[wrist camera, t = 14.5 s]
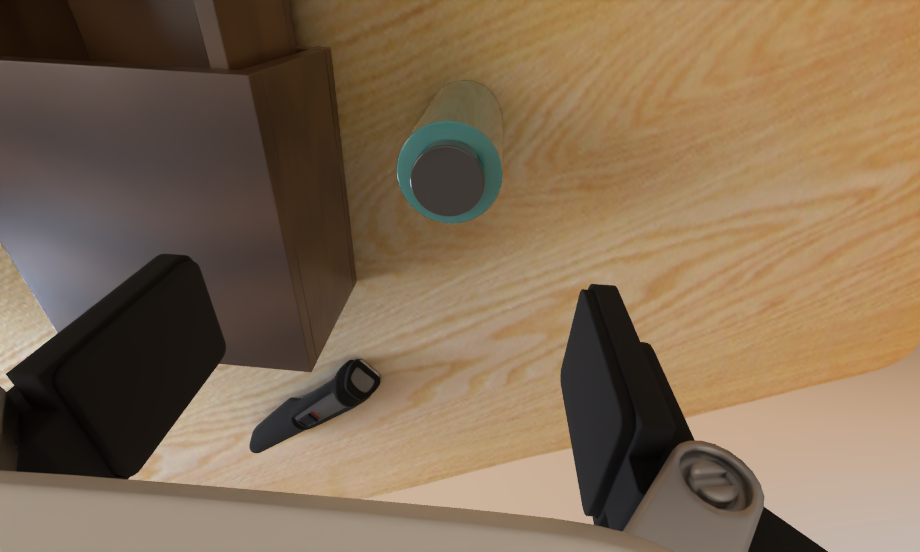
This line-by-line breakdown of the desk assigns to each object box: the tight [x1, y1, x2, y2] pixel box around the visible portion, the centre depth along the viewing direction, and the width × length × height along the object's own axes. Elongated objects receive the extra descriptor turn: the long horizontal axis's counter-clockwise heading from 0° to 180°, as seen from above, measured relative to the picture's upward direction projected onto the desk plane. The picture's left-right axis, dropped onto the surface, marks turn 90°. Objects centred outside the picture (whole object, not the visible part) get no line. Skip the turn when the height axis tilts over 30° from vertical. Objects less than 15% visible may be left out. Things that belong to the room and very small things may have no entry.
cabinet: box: [0, 46, 356, 372], centre depth 25 cm, size 16×15×9 cm
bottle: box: [397, 80, 503, 223], centre depth 21 cm, size 4×4×10 cm
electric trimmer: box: [250, 359, 380, 453], centre depth 39 cm, size 4×16×3 cm, turn 129°
